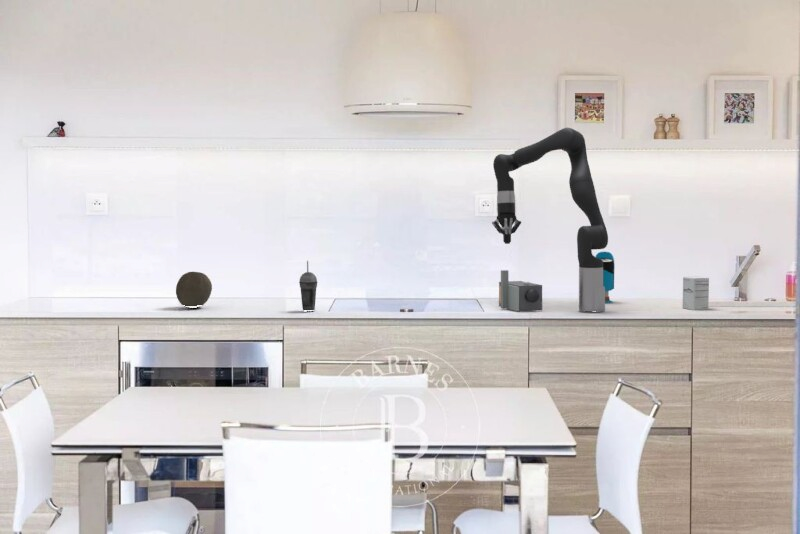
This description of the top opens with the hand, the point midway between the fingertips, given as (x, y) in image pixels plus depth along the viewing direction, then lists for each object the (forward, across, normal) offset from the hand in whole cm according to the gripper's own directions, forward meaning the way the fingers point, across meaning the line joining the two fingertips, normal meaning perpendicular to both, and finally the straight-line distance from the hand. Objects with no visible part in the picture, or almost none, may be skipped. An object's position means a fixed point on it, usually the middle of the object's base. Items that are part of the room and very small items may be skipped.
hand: (507, 243), depth 432 cm
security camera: (+26, -38, +12) cm, 47 cm away
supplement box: (+28, -60, +45) cm, 80 cm away
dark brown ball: (+23, +126, -28) cm, 132 cm away
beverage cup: (+25, +86, -1) cm, 89 cm away
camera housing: (+26, +4, +20) cm, 33 cm away
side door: (+26, +11, +24) cm, 38 cm away
